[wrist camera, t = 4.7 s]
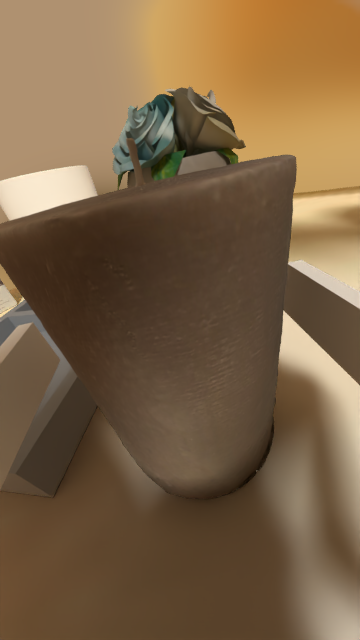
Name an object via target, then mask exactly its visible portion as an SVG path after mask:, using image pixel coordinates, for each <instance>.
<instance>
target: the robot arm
mask: <svg viewBox="0 0 360 640" xmlns="http://www.w3.org/2000/svg"><path fill="white" fill-rule="evenodd" d="M283 310H284V311H285V312H286V313H287V314H288V315H289V316H290V317H291V318H292V319H293V320H294V321H295V322H296V323H297V324H298V325H299V326H300V327H301V328H302V329H303V330H304V331H305V332H306V333H307V334H308V335H309V336H310V337H311V338H312V339H313V340H314V341H315V342H316V343H317V344H318V345H319V346H320V347H322V348H323V349H324V350H325V351H326V352H327V353H328V354H329V355H330V356H331V357H332V358H333V359H334V360H335V361H336V362H337V363H338V364H339V365H340V366H341V367H342V368H343V369H344V370H345V371H346V372H347V373H348V374H349V375H350V376H351V377H352V378H353V379H354V380H355V381H356V382H357V383H358V384H359V385H360V291H358V290H356V289H354V288H353V287H351V286H349V285H347V284H345V283H343V282H341V281H340V280H338V279H336V278H334V277H332V276H330V275H329V274H327V273H325V272H323V271H321V270H319V269H318V268H316V267H314V266H312V265H310V264H308V263H306V262H305V261H303V260H298V261H294V262H289V263H288V274H287V283H286V290H285V298H284V308H283ZM59 362H60V359H59V357H58V356H57V355H56V353H55V352H54V351H53V349H52V348H51V346H50V345H49V344H48V342H47V341H46V340H45V338H44V337H43V335H42V334H41V333H40V331H39V330H38V329H37V327H36V326H35V324H34V323H33V322H32V323H27V324H23V325H19V326H17V327H16V329H15V330H14V331H13V332H12V333H11V335H10V336H9V337H8V338H7V339H6V340H5V342H4V343H3V344H2V345H1V346H0V489H1V487H2V485H3V483H4V480H5V478H6V476H7V474H8V472H9V470H10V468H11V465H12V463H13V461H14V459H15V457H16V455H17V453H18V450H19V448H20V446H21V444H22V442H23V440H24V437H25V435H26V433H27V431H28V429H29V427H30V425H31V422H32V420H33V418H34V416H35V414H36V412H37V410H38V407H39V405H40V403H41V401H42V399H43V397H44V394H45V392H46V390H47V388H48V386H49V384H50V382H51V379H52V377H53V375H54V373H55V371H56V369H57V367H58V364H59Z"/></svg>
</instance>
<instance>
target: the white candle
mask: <svg viewBox="0 0 360 640" xmlns="http://www.w3.org/2000/svg"><path fill="white" fill-rule="evenodd" d="M94 196H98V195H97V192H96V189H95V186H94V183H93V181H92V178H91V175H90V172H89V169H88V167H87V166H72V167H65V168H58V169H52V170H46V171H41V172H36V173H31V174H27V175H22V176H18V177H14V178H10V179H6V180H2V181H0V206H1V207H2V209H3V211H4V212H5V214H6V216H7V217H8V219H9V221H10V220H14V219H17V218H21V217H24V216H28V215H31V214H34V213H38V212H41V211H44V210H48V209H50V208H54V207H57V206H60V205H63V204H67V203H71V202H75V201H79V200H83V199H86V198H90V197H94Z"/></svg>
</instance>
